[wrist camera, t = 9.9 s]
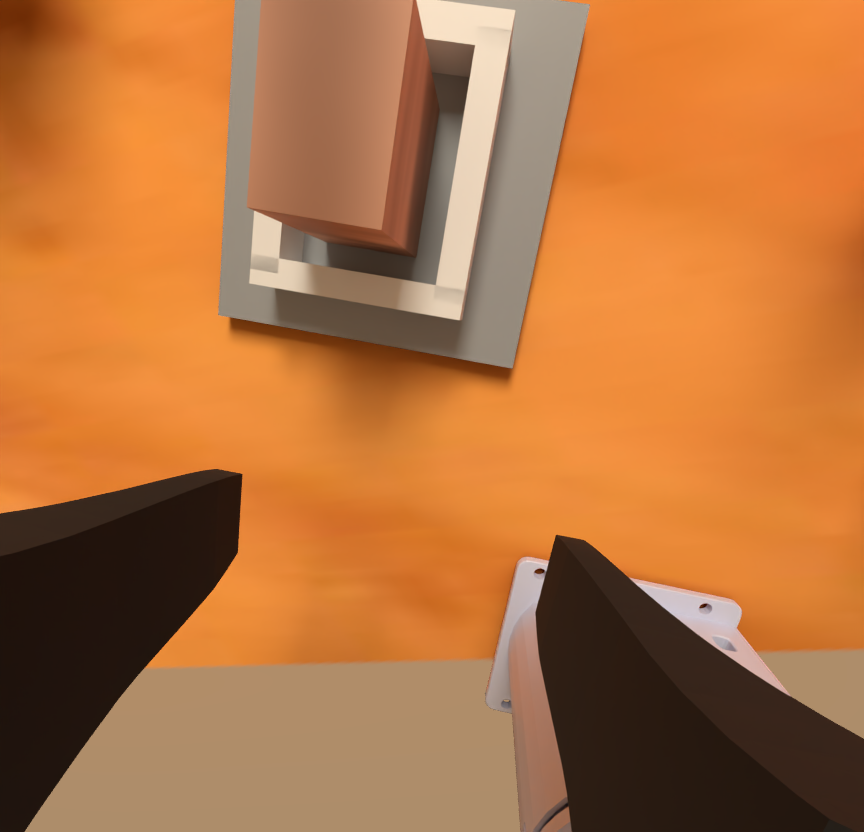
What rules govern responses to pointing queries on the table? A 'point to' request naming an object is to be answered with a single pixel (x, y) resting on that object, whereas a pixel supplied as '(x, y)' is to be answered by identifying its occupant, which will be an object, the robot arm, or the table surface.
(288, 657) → the table surface
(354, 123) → the block
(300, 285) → the grey framed tray
